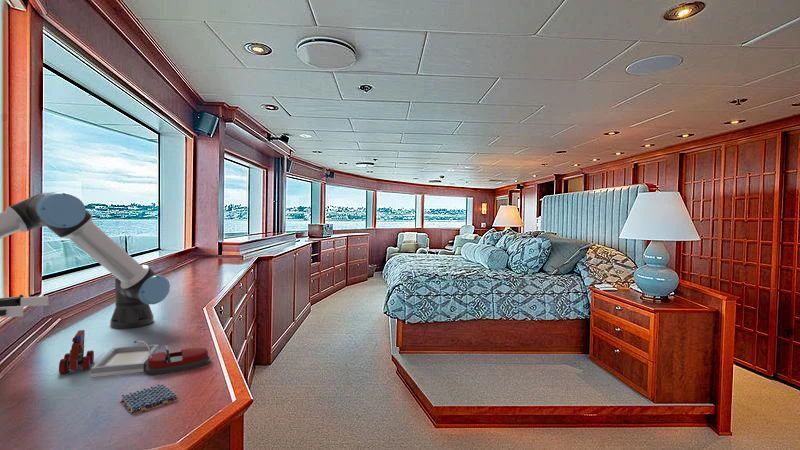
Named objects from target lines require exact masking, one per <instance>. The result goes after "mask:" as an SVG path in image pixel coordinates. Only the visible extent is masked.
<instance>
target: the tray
mask: <svg viewBox="0 0 800 450" xmlns="http://www.w3.org/2000/svg"><path fill="white" fill-rule="evenodd" d="M148 346H149V348H150V351H151V355H152V354H155V353H160V349H159V344H148ZM149 355H150V353H149V349H148V347H147V345H146V344H145V345H144V344H143V345H136V346H135V345H134V346H120V347H113V348H111V350H109V351H108V352H107V353H106V354H105V355H104V356H102V358H101V359H100V360H98V361H97V362H96V363H95V364H94V365H93V366H92V367H90V378H96V377H97V378H98V377H105V376H106V377H107V376H116V375H117V376H118V375H123V374H124V375H125V374H126V375H127V374H136V373H144V372H145V366H146V365H147V364H148V357H149Z"/></svg>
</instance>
